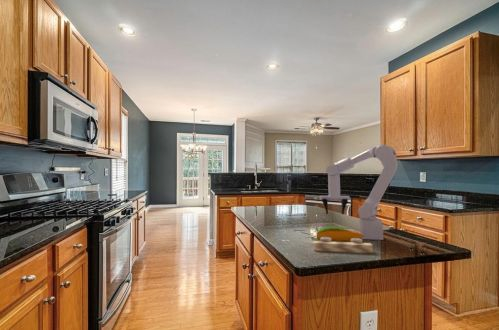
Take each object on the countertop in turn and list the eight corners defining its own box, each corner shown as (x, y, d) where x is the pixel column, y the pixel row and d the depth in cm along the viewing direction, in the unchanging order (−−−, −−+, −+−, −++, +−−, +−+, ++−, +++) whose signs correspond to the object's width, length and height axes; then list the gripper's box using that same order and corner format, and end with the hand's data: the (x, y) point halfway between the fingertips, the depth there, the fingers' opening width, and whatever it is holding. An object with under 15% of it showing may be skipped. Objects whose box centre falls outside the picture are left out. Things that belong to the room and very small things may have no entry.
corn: (314, 223, 114) (360, 224, 112) (315, 240, 115) (360, 240, 113) (317, 228, 107) (366, 229, 105) (318, 246, 107) (366, 246, 105)
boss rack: (368, 247, 103) (368, 238, 103) (373, 253, 96) (372, 243, 96) (313, 245, 107) (313, 236, 107) (314, 250, 100) (314, 240, 101)
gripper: (347, 186, 131) (348, 212, 131) (319, 186, 134) (319, 212, 134) (350, 187, 124) (350, 215, 124) (320, 187, 127) (320, 214, 127)
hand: (334, 213), depth 129 cm, fingers open, 7 cm apart
